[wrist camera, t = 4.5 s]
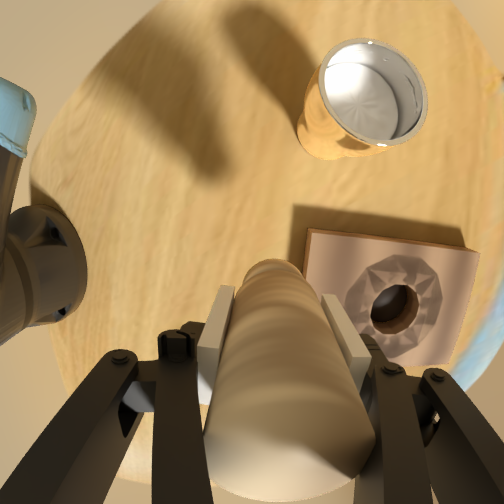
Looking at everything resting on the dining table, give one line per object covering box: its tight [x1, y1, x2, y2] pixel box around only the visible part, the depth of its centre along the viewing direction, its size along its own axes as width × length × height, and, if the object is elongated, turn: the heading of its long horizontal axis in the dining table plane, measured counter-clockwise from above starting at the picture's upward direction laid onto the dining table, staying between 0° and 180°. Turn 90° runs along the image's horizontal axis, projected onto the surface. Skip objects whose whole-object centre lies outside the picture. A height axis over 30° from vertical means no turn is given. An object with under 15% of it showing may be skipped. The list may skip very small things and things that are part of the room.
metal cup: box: [297, 38, 428, 160], centre depth 21 cm, size 7×7×15 cm
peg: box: [203, 259, 376, 502], centre depth 14 cm, size 5×5×14 cm
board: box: [302, 228, 480, 367], centre depth 30 cm, size 20×14×3 cm
